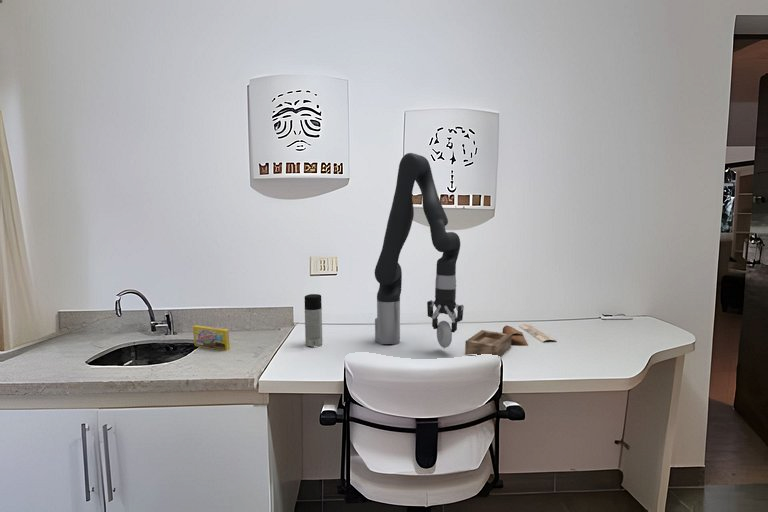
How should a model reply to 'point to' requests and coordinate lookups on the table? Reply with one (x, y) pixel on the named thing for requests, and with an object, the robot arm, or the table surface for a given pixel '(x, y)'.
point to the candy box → (211, 337)
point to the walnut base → (488, 343)
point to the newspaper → (536, 332)
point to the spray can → (313, 320)
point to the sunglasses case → (515, 336)
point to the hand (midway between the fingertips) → (444, 330)
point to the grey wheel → (444, 334)
